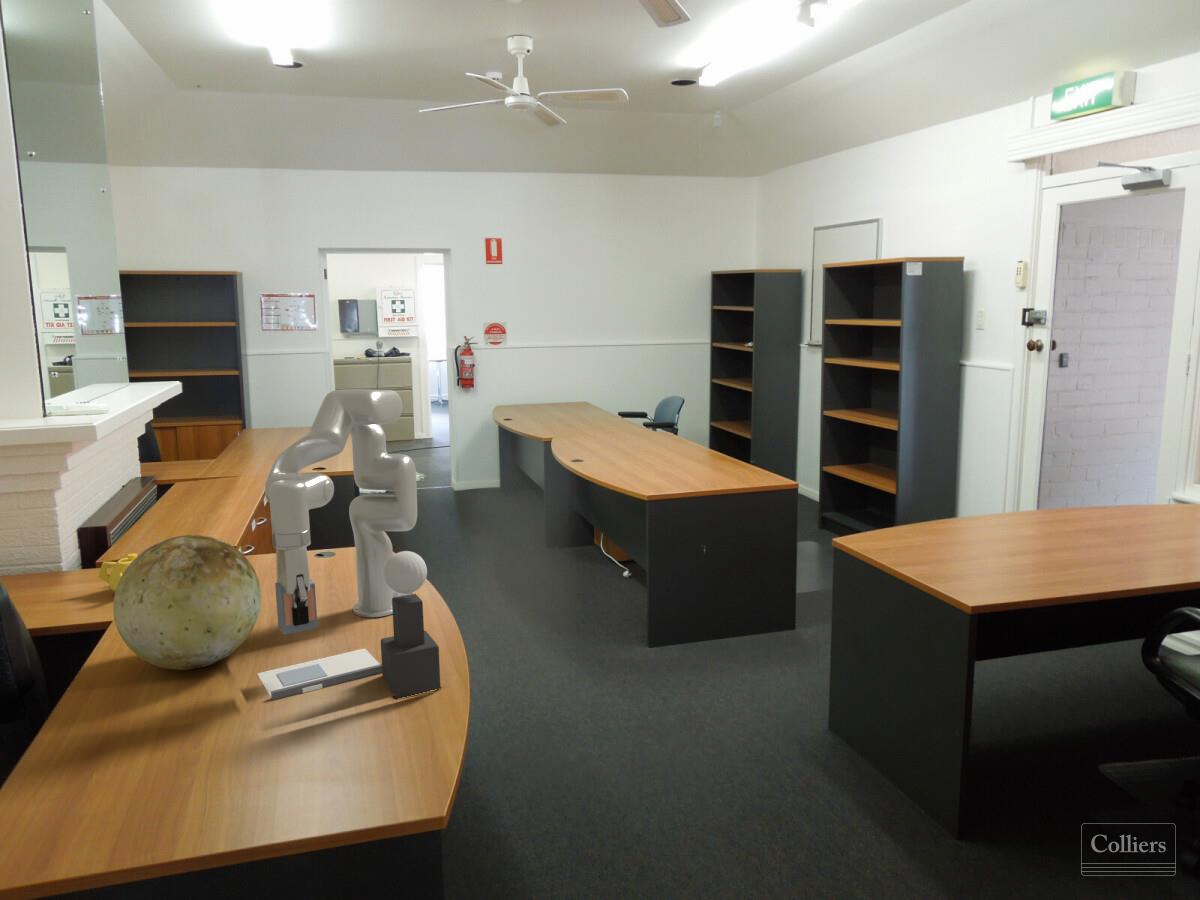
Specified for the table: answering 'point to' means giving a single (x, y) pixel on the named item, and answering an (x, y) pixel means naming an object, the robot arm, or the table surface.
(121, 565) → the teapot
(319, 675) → the shelf board
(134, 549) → the table surface
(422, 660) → the sculpture
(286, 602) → the box
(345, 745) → the table surface
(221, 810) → the table surface
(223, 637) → the speckled stone ball
